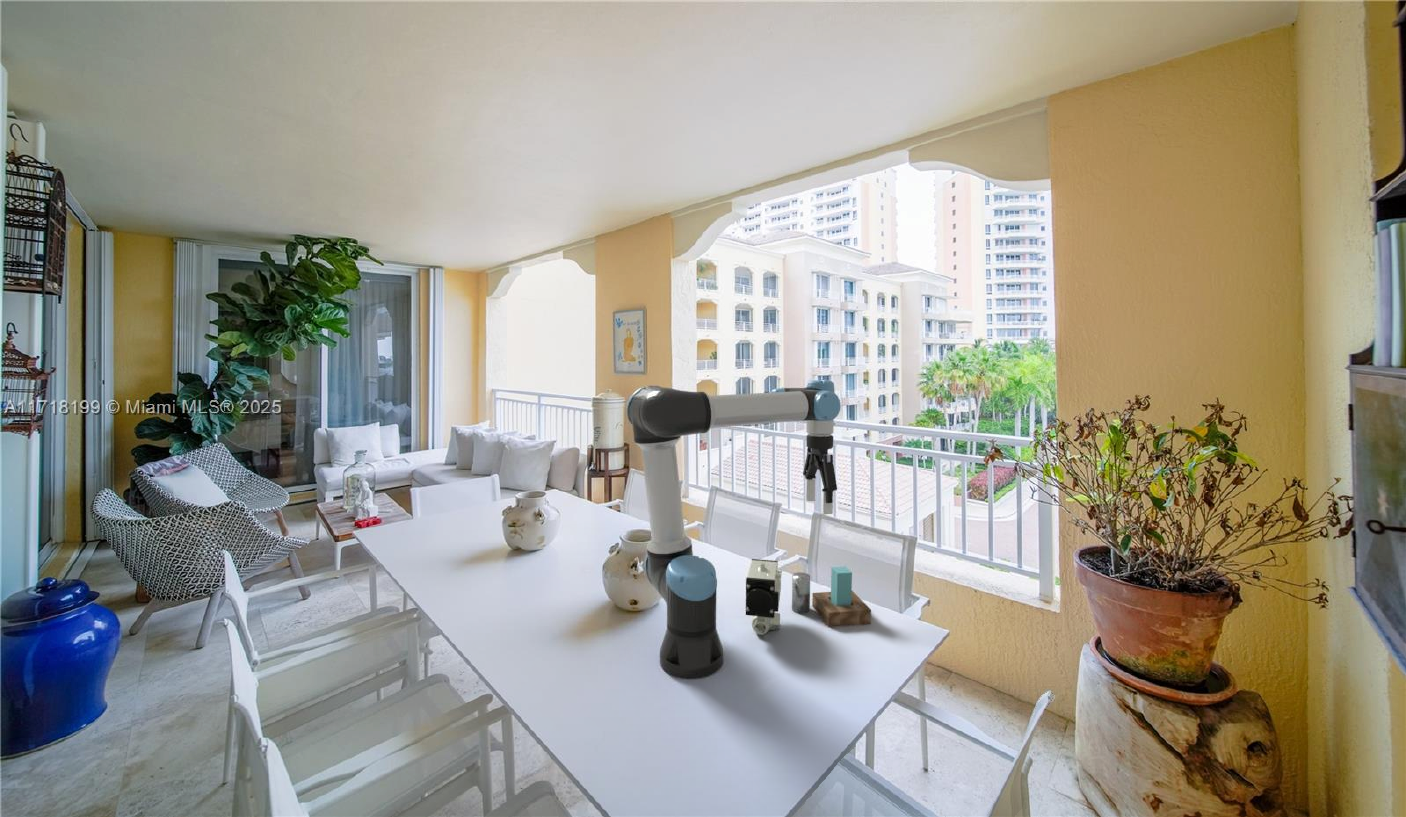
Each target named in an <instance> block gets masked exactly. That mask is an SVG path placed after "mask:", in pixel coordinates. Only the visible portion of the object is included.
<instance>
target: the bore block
mask: <svg viewBox="0 0 1406 817" xmlns="http://www.w3.org/2000/svg"><path fill="white" fill-rule="evenodd" d="M811 602H812V605H811V606H812V608H813V609H814V611H815V612H816V613H817V614H818V615H819V617H820V618H821V620H822V622H824V624H825V625H826V626H827V627H828V628H834V627H835V628H836V627H837V628H838V627H847V626H848V627H849V626H859V625H863V626H864V625H871V622H872V621H871V620H872V619H871V618H872V610H871V608H870V607H869V606H868V605H867V603H865V602H864V601H863V600H862V599H861V598H860V597H859V596H858V595H857V594H856V593H855V592H854V590H852V593H851V605H847V606H835V605H834V604H833V603H832V602H831V591H823V592H812V600H811Z"/></svg>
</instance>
